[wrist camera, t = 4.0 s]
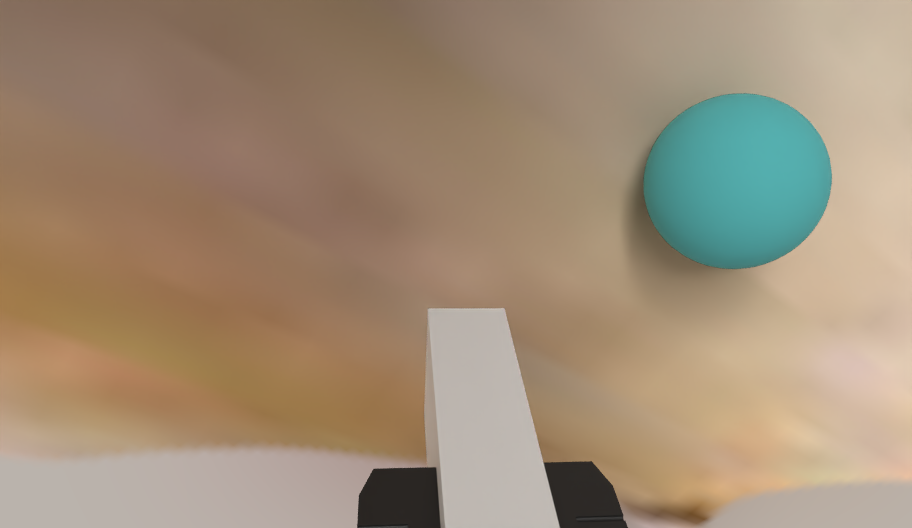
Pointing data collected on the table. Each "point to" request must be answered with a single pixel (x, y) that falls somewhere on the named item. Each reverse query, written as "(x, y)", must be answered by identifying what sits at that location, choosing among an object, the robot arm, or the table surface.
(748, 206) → the ball
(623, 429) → the table surface
